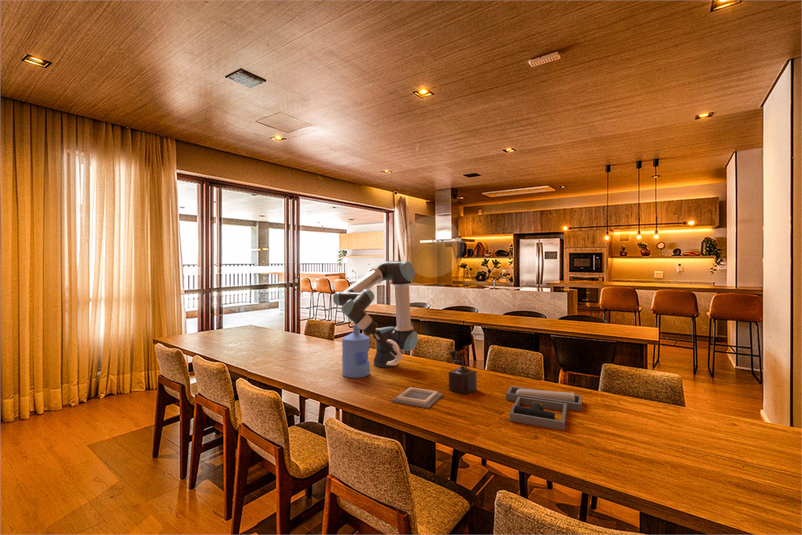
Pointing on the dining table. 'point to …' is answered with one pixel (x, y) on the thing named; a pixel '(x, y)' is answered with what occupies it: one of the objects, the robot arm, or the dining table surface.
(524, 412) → the pipe connector
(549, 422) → the connector rest frame
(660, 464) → the dining table surface
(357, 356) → the water jug
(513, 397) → the tube rest frame
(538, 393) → the tube
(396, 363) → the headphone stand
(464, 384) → the pepper mill
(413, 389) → the coaster board
